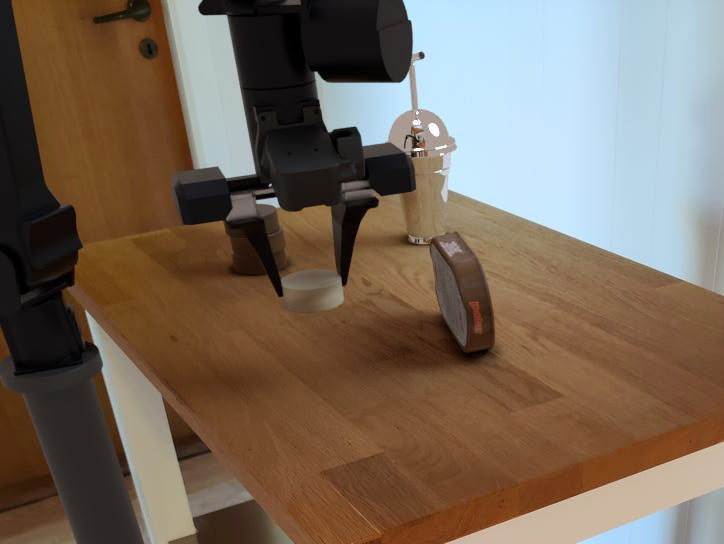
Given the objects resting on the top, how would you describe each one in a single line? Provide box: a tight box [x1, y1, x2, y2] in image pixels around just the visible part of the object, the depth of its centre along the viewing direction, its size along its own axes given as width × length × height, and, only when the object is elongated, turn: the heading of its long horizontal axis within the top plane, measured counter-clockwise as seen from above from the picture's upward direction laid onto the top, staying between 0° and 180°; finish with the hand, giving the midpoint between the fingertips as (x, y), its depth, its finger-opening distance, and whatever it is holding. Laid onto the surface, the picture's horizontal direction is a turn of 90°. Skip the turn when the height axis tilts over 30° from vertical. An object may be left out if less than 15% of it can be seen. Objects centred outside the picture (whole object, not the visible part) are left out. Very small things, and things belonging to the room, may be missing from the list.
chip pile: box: [223, 203, 288, 276], centre depth 112 cm, size 6×6×6 cm
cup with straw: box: [384, 51, 458, 245], centre depth 112 cm, size 8×9×20 cm
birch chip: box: [280, 268, 345, 314], centre depth 84 cm, size 5×5×2 cm
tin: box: [429, 230, 496, 354], centre depth 91 cm, size 15×3×8 cm, turn 14°
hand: (311, 290), depth 84 cm, fingers closed on birch chip, 5 cm apart
